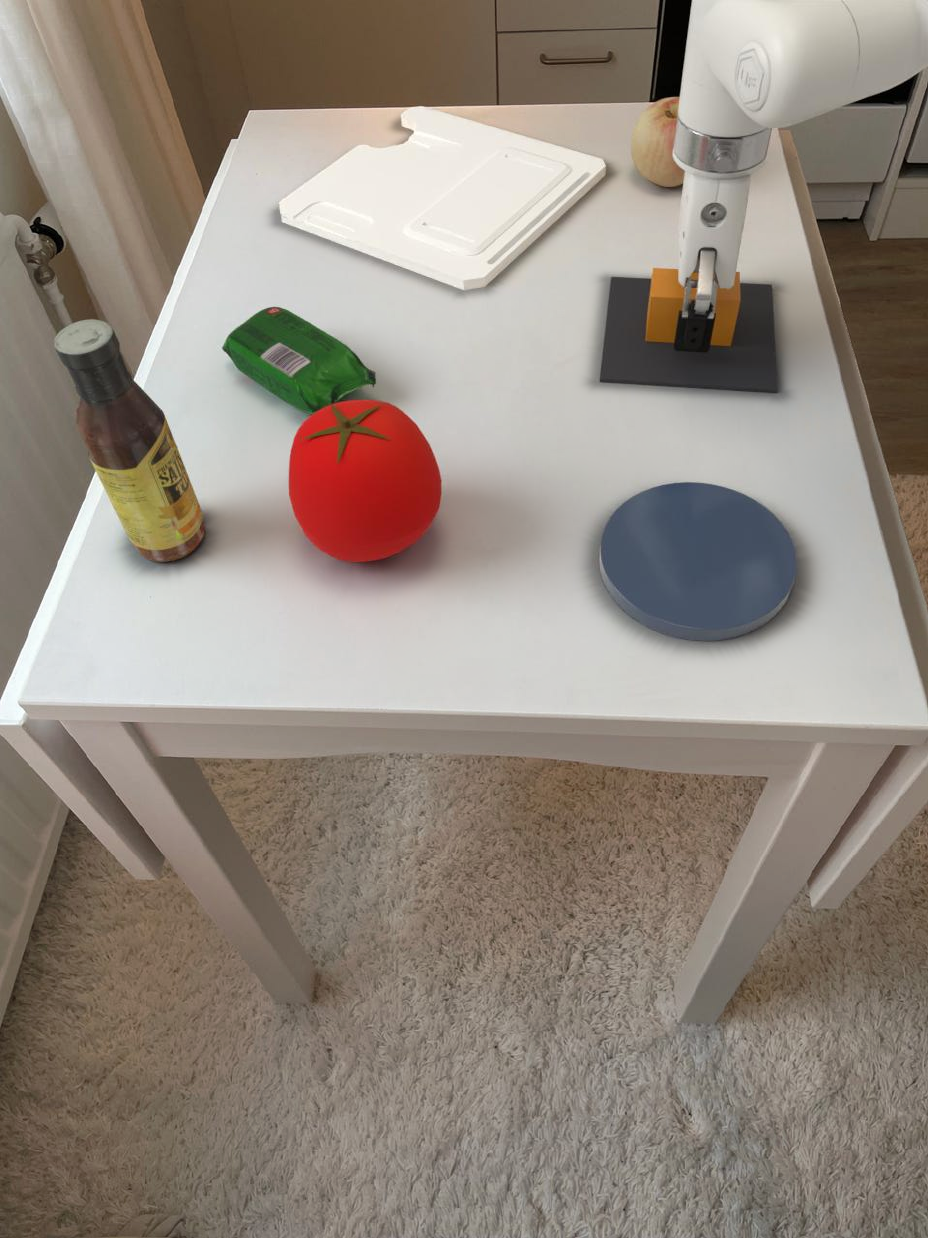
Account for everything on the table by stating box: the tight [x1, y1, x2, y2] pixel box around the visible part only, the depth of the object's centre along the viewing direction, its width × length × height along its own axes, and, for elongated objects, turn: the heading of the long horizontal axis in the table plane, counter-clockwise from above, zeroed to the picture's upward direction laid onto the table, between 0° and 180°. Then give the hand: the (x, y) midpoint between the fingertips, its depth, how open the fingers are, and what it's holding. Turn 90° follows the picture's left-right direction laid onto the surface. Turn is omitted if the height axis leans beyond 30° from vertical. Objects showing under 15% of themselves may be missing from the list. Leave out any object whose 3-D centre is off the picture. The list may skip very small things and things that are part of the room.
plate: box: [598, 481, 798, 642], centre depth 75 cm, size 15×15×2 cm
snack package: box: [221, 306, 377, 415], centre depth 88 cm, size 7×16×5 cm, turn 46°
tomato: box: [288, 399, 443, 563], centre depth 74 cm, size 12×12×13 cm
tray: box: [278, 105, 607, 291], centre depth 109 cm, size 28×28×2 cm
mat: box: [599, 276, 779, 394], centre depth 92 cm, size 16×16×1 cm
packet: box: [645, 267, 741, 346], centre depth 90 cm, size 8×4×5 cm, turn 81°
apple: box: [630, 96, 685, 188], centre depth 106 cm, size 9×9×8 cm
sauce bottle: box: [53, 318, 206, 563], centre depth 72 cm, size 6×6×20 cm
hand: (691, 317), depth 91 cm, fingers open, 9 cm apart
